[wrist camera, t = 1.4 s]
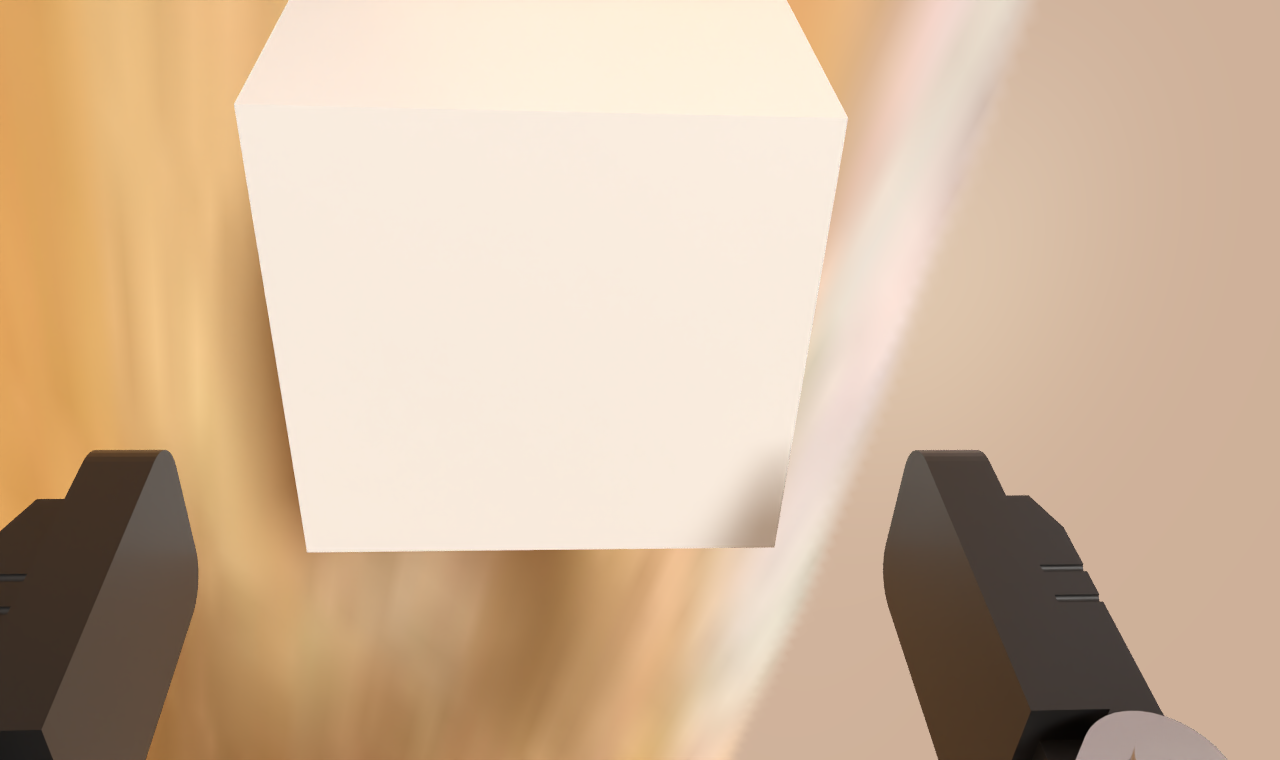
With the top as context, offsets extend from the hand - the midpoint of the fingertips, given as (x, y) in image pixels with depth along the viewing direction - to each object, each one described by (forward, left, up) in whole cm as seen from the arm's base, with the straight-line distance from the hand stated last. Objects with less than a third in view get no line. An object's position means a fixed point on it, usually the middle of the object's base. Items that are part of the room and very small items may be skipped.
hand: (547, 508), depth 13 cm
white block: (0, 0, -11) cm, 11 cm away
